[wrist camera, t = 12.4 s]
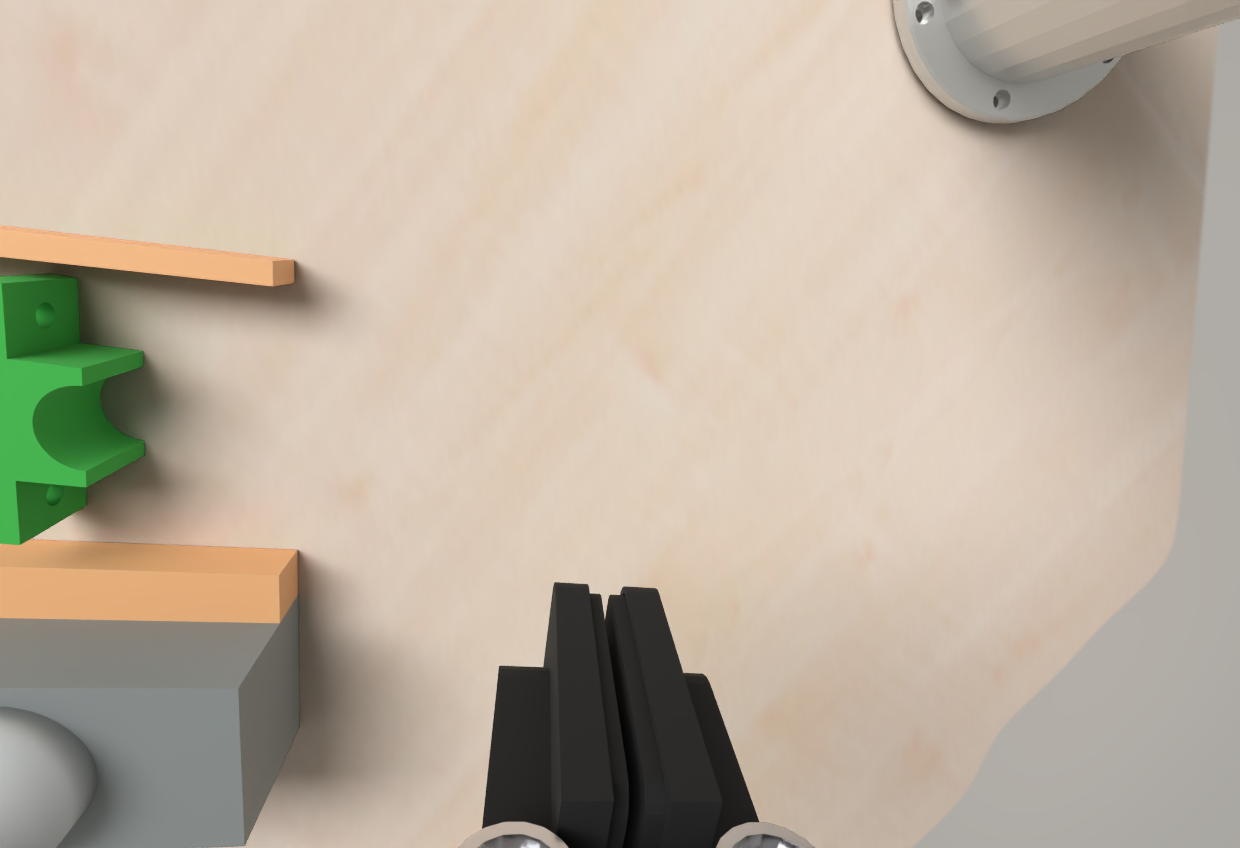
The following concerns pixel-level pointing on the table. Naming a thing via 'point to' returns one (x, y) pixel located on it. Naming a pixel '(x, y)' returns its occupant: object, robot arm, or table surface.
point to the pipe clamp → (52, 406)
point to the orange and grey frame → (143, 652)
